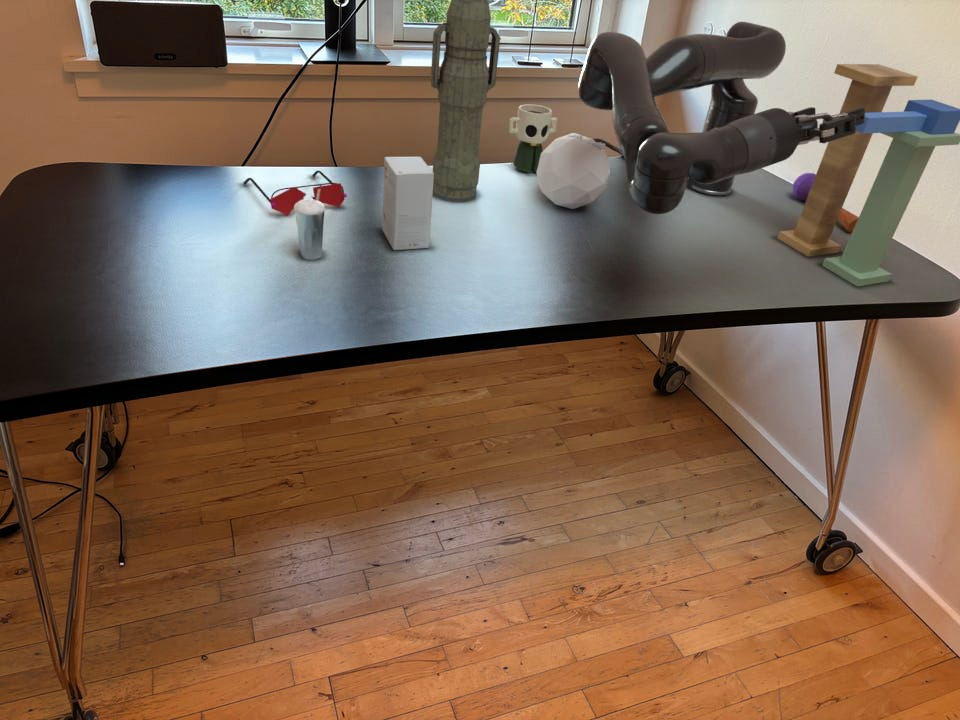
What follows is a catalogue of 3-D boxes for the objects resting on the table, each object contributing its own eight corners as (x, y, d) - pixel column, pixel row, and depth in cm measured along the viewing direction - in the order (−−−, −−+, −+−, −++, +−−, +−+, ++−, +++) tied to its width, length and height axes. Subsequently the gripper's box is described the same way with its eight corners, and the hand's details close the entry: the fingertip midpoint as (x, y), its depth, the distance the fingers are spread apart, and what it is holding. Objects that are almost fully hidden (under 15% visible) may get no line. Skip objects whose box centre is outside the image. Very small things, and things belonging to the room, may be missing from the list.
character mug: (509, 175, 150) (517, 113, 143) (498, 164, 156) (505, 103, 148) (556, 174, 154) (566, 114, 146) (543, 163, 159) (552, 104, 152)
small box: (430, 248, 118) (435, 173, 111) (392, 251, 116) (395, 174, 109) (417, 228, 124) (420, 155, 117) (381, 230, 122) (383, 156, 115)
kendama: (846, 215, 140) (790, 170, 155) (838, 241, 144) (784, 195, 159) (873, 210, 141) (815, 166, 155) (864, 235, 145) (809, 190, 159)
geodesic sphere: (628, 171, 142) (596, 107, 136) (628, 197, 130) (592, 128, 125) (562, 204, 148) (529, 144, 143) (556, 232, 137) (519, 167, 131)
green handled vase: (491, 199, 139) (513, 2, 119) (435, 204, 134) (449, -1, 114) (471, 182, 145) (490, -8, 125) (418, 187, 140) (428, -10, 120)
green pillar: (852, 287, 122) (920, 137, 108) (817, 266, 128) (878, 121, 113) (892, 280, 126) (963, 135, 111) (856, 260, 132) (919, 119, 117)
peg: (872, 137, 105) (882, 113, 103) (840, 125, 109) (850, 101, 107) (953, 133, 112) (965, 110, 110) (921, 121, 116) (931, 99, 114)
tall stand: (803, 257, 131) (875, 76, 113) (773, 238, 137) (837, 63, 118) (842, 252, 135) (918, 76, 116) (811, 234, 140) (878, 64, 122)
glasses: (272, 219, 121) (270, 191, 119) (243, 184, 132) (240, 158, 130) (348, 209, 128) (348, 182, 125) (314, 176, 139) (313, 151, 136)
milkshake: (333, 251, 114) (332, 192, 109) (316, 264, 110) (314, 203, 104) (308, 244, 115) (306, 185, 110) (291, 257, 111) (287, 197, 105)
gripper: (794, 116, 92) (881, 87, 98) (716, 114, 105) (798, 88, 110) (795, 173, 96) (879, 142, 101) (719, 165, 108) (798, 138, 113)
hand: (837, 114), depth 105 cm, fingers open, 8 cm apart
